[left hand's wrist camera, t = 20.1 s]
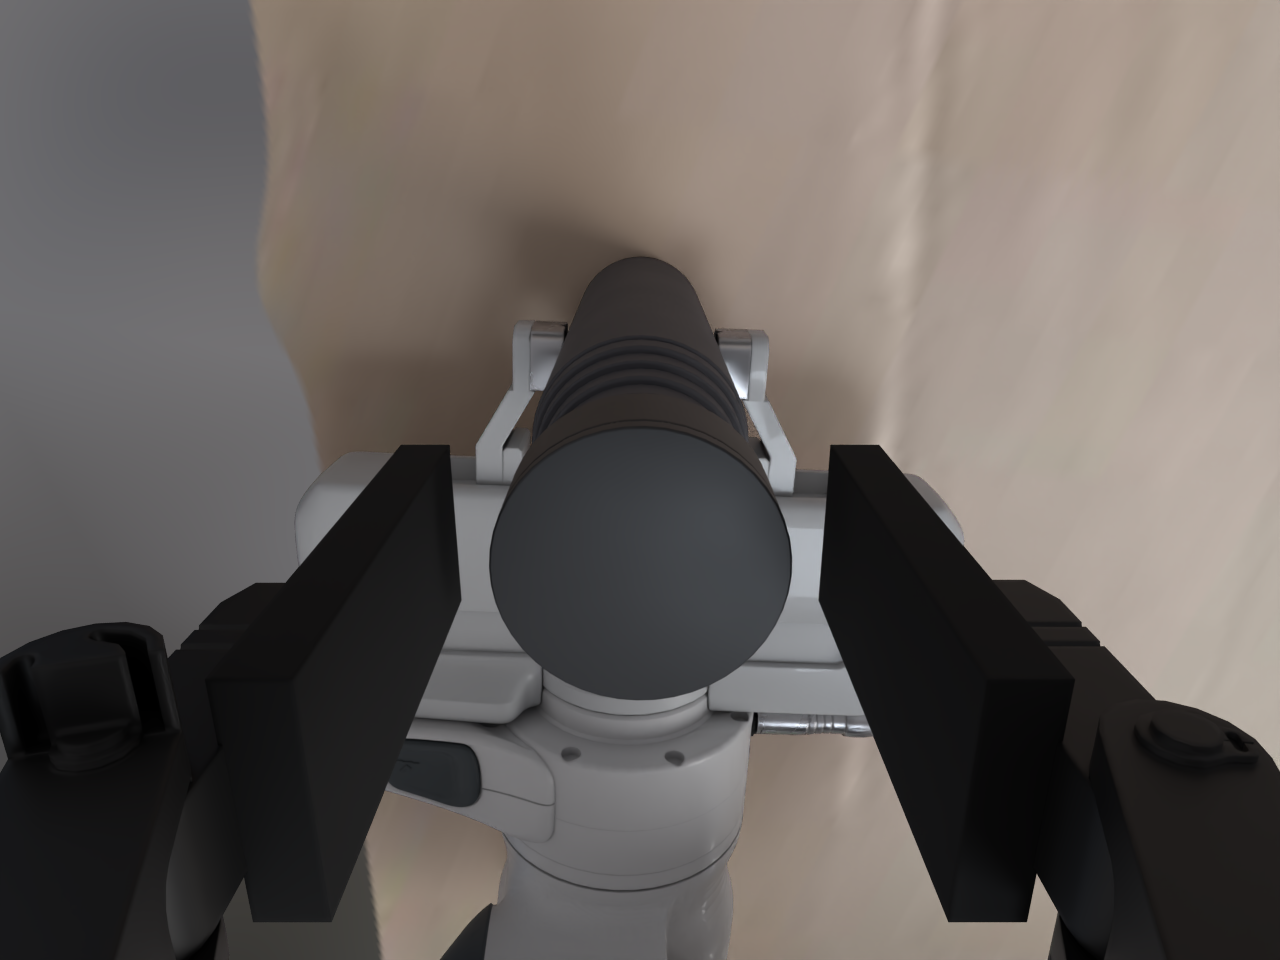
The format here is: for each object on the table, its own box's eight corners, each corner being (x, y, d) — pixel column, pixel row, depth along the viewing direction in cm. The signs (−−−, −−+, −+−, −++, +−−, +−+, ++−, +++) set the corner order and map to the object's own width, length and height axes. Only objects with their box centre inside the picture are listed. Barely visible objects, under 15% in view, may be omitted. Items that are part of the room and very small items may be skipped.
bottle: (726, 308, 32) (854, 531, 13) (650, 402, 33) (664, 733, 14) (629, 230, 31) (611, 345, 12) (555, 330, 32) (429, 579, 13)
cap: (456, 471, 14) (429, 516, 12) (698, 342, 13) (706, 369, 11) (590, 677, 15) (584, 744, 13) (817, 570, 14) (841, 625, 13)
